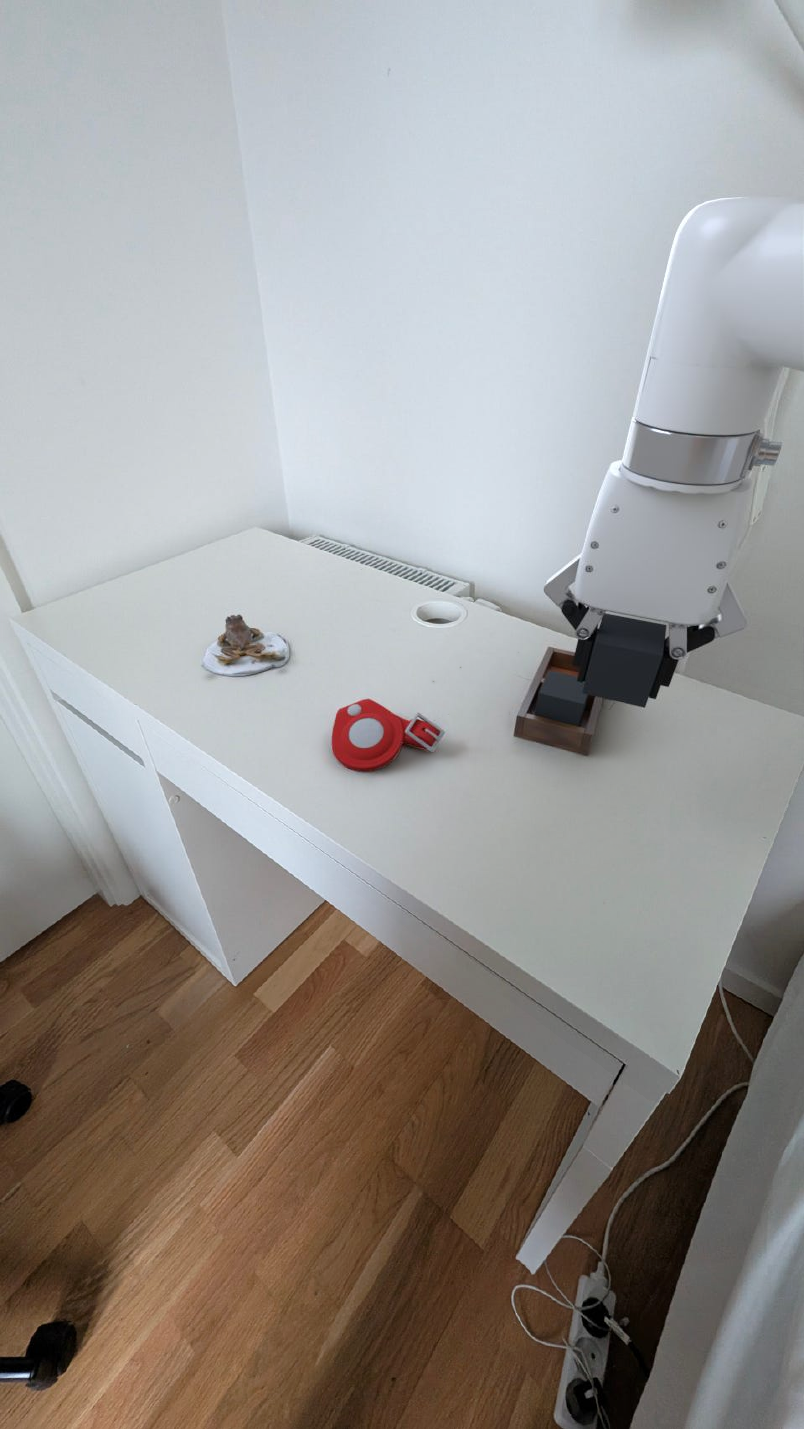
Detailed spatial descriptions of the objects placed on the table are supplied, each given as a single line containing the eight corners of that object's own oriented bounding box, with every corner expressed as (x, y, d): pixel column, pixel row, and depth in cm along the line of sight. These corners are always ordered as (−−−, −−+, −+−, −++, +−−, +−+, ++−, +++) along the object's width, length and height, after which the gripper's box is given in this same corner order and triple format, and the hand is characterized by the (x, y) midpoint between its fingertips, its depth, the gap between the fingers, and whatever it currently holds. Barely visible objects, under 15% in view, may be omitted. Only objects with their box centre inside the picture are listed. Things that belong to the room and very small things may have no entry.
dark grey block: (649, 675, 50) (666, 624, 47) (644, 708, 46) (663, 655, 43) (590, 662, 51) (603, 612, 48) (581, 693, 48) (595, 641, 45)
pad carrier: (608, 680, 76) (613, 660, 74) (587, 756, 64) (592, 735, 62) (544, 665, 78) (548, 646, 76) (513, 736, 67) (516, 715, 65)
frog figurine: (192, 643, 82) (186, 620, 80) (274, 624, 86) (270, 601, 84) (210, 686, 74) (204, 661, 72) (299, 662, 78) (296, 638, 76)
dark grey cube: (583, 713, 69) (592, 679, 66) (575, 739, 66) (584, 704, 62) (541, 703, 71) (548, 669, 68) (532, 727, 67) (538, 692, 64)
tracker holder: (343, 778, 60) (314, 707, 65) (351, 796, 63) (323, 727, 69) (449, 733, 61) (412, 666, 67) (451, 753, 65) (416, 689, 70)
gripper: (826, 453, 38) (725, 681, 49) (563, 427, 43) (527, 639, 54) (846, 487, 32) (727, 734, 44) (542, 452, 37) (507, 682, 49)
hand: (617, 679), depth 49 cm, fingers closed on dark grey block, 5 cm apart
